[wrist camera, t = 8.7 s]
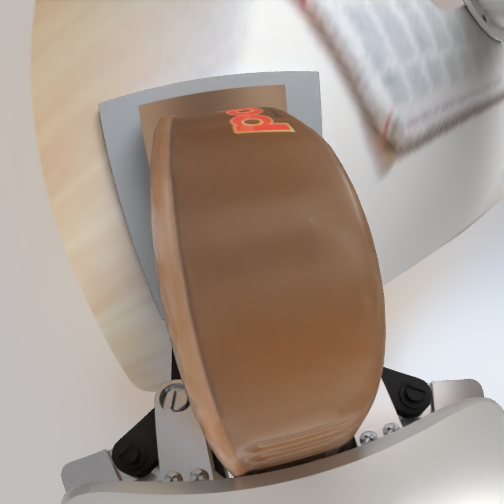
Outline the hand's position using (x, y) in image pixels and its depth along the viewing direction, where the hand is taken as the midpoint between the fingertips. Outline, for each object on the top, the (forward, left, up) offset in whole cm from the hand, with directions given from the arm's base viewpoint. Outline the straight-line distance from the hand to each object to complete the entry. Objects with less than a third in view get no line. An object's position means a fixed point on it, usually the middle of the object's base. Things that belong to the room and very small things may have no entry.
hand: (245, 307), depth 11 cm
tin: (0, 0, -1) cm, 1 cm away
